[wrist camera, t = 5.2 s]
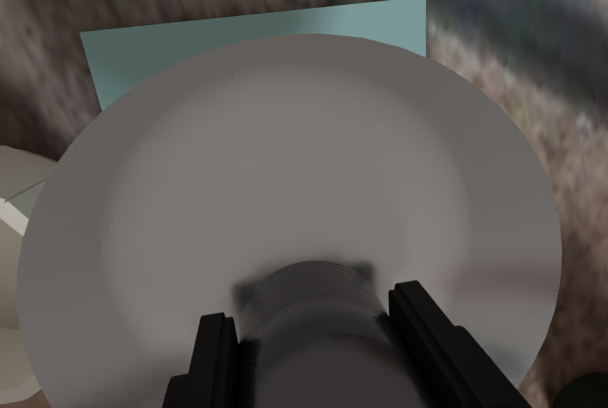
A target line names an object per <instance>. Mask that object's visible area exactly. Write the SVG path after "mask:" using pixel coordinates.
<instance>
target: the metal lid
mask: <svg viewBox="0 0 608 408" xmlns="http://www.w3.org/2000/svg"><path fill="white" fill-rule="evenodd" d="M561 264H562V243H561V232H560V221H559V217H558V213H557V209H556V204H555V200H554V196H553V192H552V189H551V187H550V184H549V182H548V180H547V177H546V175H545V172H544V170H543V167H542V165H541V162H540V161H539V159H538V157H537V156H536V154H535V153H534V151H533V149H532V148H531V146H530V144H529V143H528V141H527V139H526V138H525V136H524V134H523V133H522V132H521V131H520V130H519V128H518V127H517V126H516V125H515V124H514V122H513V121H512V120H511V119H510V118H509V117H508V115H507V114H506V113H505V112H504V111H503V110H502V108H501V107H500V106H498V105H497V104H496V103H495V102H494V101H493V100H491V99H490V98H489V97H488V96H487V95H486V94H484V93H483V92H482V91H481V90H480V89H479V88H477V87H476V86H475V85H474V84H473V83H471V82H469V81H468V80H466V79H464V78H463V77H461V76H460V75H458V74H456V73H455V72H453V71H452V70H450V69H448V68H447V67H445V66H443V65H442V64H440V63H438V62H435V61H433V60H430V59H428V58H426V57H423V56H421V55H419V54H416V53H414V52H412V51H409V50H407V49H404V48H401V47H397V46H393V45H389V44H385V43H381V42H378V41H374V40H370V39H366V38H360V37H351V36H341V35H331V34H322V33H314V34H290V35H273V36H267V37H262V38H257V39H251V40H246V41H240V42H235V43H230V44H227V45H224V46H221V47H218V48H215V49H212V50H209V51H206V52H203V53H200V54H197V55H194V56H191V57H189V58H186V59H184V60H182V61H180V62H178V63H176V64H174V65H172V66H170V67H168V68H166V69H164V70H162V71H160V72H158V73H156V74H154V75H152V76H151V77H149V78H147V79H145V80H144V81H142V82H141V83H139V84H138V85H137V86H135V87H134V88H132V89H131V90H129V91H128V92H127V93H125V94H124V95H122V96H121V97H120V98H118V99H117V100H115V101H114V102H113V103H111V104H110V105H109V106H108V107H107V108H106V109H105V110H103V111H102V112H101V113H100V114H99V115H98V116H97V117H96V118H95V119H94V120H93V121H92V122H91V123H90V124H89V125H88V126H87V127H86V128H85V129H84V130H83V131H82V132H81V133H80V134H79V135H78V136H77V137H76V139H75V140H74V141H73V143H72V144H71V145H70V146H69V148H68V149H67V150H66V152H65V153H64V154H63V156H62V157H61V158H60V160H59V161H58V162H57V164H56V165H55V166H54V168H53V169H52V171H51V173H50V175H49V177H48V179H47V181H46V183H45V184H44V186H43V188H42V190H41V192H40V194H39V196H38V198H37V199H36V201H35V203H34V206H33V209H32V212H31V215H30V218H29V221H28V224H27V227H26V230H25V233H24V236H23V239H22V244H21V251H20V257H19V263H18V270H17V313H18V319H19V325H20V330H21V336H22V342H23V345H24V348H25V351H26V354H27V357H28V359H29V362H30V365H31V368H32V371H33V374H34V375H35V377H36V379H37V381H38V383H39V385H40V387H41V388H42V390H43V392H44V394H45V396H46V398H47V400H48V401H49V403H50V404H51V405H52V407H53V408H162V404H163V401H164V397H165V393H166V390H167V386H168V383H169V381H170V378H171V377H172V376H176V375H181V374H187V373H188V371H189V367H190V362H191V358H192V353H193V349H194V344H195V340H196V335H197V331H198V326H199V322H200V318H201V316H202V315H208V314H214V313H220V312H224V314H225V317H231V316H232V317H233V319H234V323H235V328H236V333H237V338H238V343H239V347H238V365H237V382H236V400H235V408H440V406H439V404H438V403H437V401H436V399H435V397H434V395H433V394H432V392H431V390H430V388H429V387H428V385H427V383H426V381H425V379H424V378H423V376H422V374H421V372H420V371H419V369H418V367H417V365H416V363H415V362H414V360H413V358H412V356H411V355H410V353H409V351H408V349H407V347H406V346H405V344H404V342H403V340H402V339H401V337H400V335H399V333H398V331H397V330H396V328H395V326H394V324H393V323H392V321H391V319H390V317H389V301H388V292H389V290H393V289H394V286H395V284H396V283H401V282H407V281H413V280H417V281H419V282H420V284H421V285H422V286H423V287H424V289H425V290H426V291H427V292H428V294H429V295H430V296H431V297H432V299H433V300H434V301H435V302H436V304H437V305H438V306H439V307H440V309H441V310H442V311H443V312H444V314H445V315H446V316H447V317H448V319H449V320H450V321H451V322H452V324H453V325H454V326H458V325H460V326H463V327H464V328H465V329H466V330H467V331H468V332H469V333H470V334H471V335H472V337H473V338H474V339H475V340H476V341H477V343H478V344H479V345H480V346H481V347H482V349H483V350H484V351H485V352H486V353H487V354H488V356H489V357H490V358H491V359H492V360H493V362H494V363H495V364H496V365H497V366H498V368H499V369H500V370H501V371H502V372H503V374H504V375H505V376H506V377H507V378H508V380H509V381H510V382H511V383H512V384H513V386H514V387H515V388H516V389H517V388H518V387H519V385H520V384H521V382H522V380H523V379H524V377H525V376H526V374H527V372H528V371H529V369H530V367H531V366H532V364H533V363H534V361H535V359H536V357H537V354H538V352H539V350H540V348H541V346H542V344H543V342H544V340H545V337H546V335H547V332H548V329H549V326H550V323H551V320H552V317H553V314H554V311H555V307H556V302H557V297H558V291H559V286H560V281H561Z"/></svg>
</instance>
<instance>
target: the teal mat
mask: <svg viewBox="0 0 608 408" xmlns="http://www.w3.org/2000/svg"><path fill="white" fill-rule="evenodd" d="M79 33H80V36H81V40H82V43H83V47H84V50H85V54H86V57H87V61H88V64H89V68H90V71H91V75H92V78H93V82H94V85H95V89H96V92H97V96H98V99H99V103H100V106H101V110H102V111H103V110H105V109H106V108H107V107H108V106H109V105H110V104H111V103H113V102H114V101H115V100H117V99H118V98H120V97H121V96H122V95H124V94H125V93H127V92H128V91H129V90H131V89H132V88H134V87H135V86H137V85H138V84H139V83H141V82H142V81H144V80H145V79H147V78H149V77H151V76H152V75H154V74H156V73H158V72H160V71H162V70H164V69H166V68H168V67H170V66H172V65H174V64H176V63H178V62H180V61H182V60H184V59H186V58H189V57H191V56H194V55H197V54H200V53H203V52H206V51H209V50H212V49H215V48H218V47H221V46H224V45H227V44H230V43H235V42H240V41H246V40H251V39H257V38H262V37H267V36H273V35H290V34H314V33H322V34H331V35H341V36H351V37H360V38H366V39H370V40H374V41H378V42H381V43H385V44H389V45H393V46H397V47H401V48H404V49H407V50H409V51H412V52H414V53H416V54H419V55H421V56H423V57H426V0H388V1H378V2H368V3H359V4H349V5H339V6H330V7H320V8H310V9H301V10H291V11H281V12H271V13H262V14H252V15H242V16H233V17H223V18H213V19H204V20H194V21H184V22H174V23H165V24H155V25H145V26H136V27H126V28H116V29H107V30H97V31H87V32H79Z"/></svg>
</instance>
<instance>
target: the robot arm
mask: <svg viewBox="0 0 608 408" xmlns="http://www.w3.org/2000/svg"><path fill="white" fill-rule="evenodd" d="M388 301H389V317H390V319H391V321H392V323H393V324H394V326H395V328H396V330H397V331H398V333H399V335H400V337H401V339H402V340H403V342H404V344H405V346H406V347H407V349H408V351H409V353H410V355H411V356H412V358H413V360H414V362H415V363H416V365H417V367H418V369H419V371H420V372H421V374H422V376H423V378H424V379H425V381H426V383H427V385H428V387H429V388H430V390H431V392H432V394H433V395H434V397H435V399H436V401H437V403H438V404H439V406H440V408H532V407H531V406H530V405H529V403H528V402H527V401H526V400H525V399H524V397H523V396H522V395H521V394H520V393H519V391H518V390H517V389H516V388H515V387H514V386H513V384H512V383H511V382H510V381H509V380H508V378H507V377H506V376H505V375H504V374H503V372H502V371H501V370H500V369H499V368H498V366H497V365H496V364H495V363H494V362H493V360H492V359H491V358H490V357H489V356H488V354H487V353H486V352H485V351H484V350H483V349H482V347H481V346H480V345H479V344H478V343H477V341H476V340H475V339H474V338H473V337H472V335H471V334H470V333H469V332H468V331H467V330H466V329H465V328H464V327H463V326H460V325H458V326H454V325H453V324H452V322H451V321H450V320H449V319H448V317H447V316H446V315H445V314H444V312H443V311H442V310H441V309H440V307H439V306H438V305H437V304H436V302H435V301H434V300H433V299H432V297H431V296H430V295H429V294H428V292H427V291H426V290H425V289H424V287H423V286H422V285H421V284H420V282H419V281H417V280H413V281H407V282H401V283H396V284H395V286H394V289H393V290H389V292H388ZM238 347H239V343H238V338H237V333H236V328H235V323H234V319H233V317H232V316H231V317H225V314H224V312H220V313H214V314H208V315H202V316H201V318H200V322H199V326H198V331H197V335H196V340H195V344H194V349H193V353H192V358H191V362H190V367H189V371H188V373H187V374H181V375H176V376H172V377H171V378H170V381H169V383H168V386H167V390H166V393H165V397H164V401H163V404H162V408H235V400H236V382H237V365H238Z"/></svg>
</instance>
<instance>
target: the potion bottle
mask: <svg viewBox="0 0 608 408" xmlns="http://www.w3.org/2000/svg"><path fill="white" fill-rule="evenodd" d="M554 408H608V375H606V374H592V375H586V376H584V377H582V378H579V379H577V380H575V381H573V382H572V383H571V384H570V385H568V386H567V387H566V388H564V389H563V391H562V392H561V393H560V395H559V396H558V398H557V399H556V402H555V406H554Z"/></svg>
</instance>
